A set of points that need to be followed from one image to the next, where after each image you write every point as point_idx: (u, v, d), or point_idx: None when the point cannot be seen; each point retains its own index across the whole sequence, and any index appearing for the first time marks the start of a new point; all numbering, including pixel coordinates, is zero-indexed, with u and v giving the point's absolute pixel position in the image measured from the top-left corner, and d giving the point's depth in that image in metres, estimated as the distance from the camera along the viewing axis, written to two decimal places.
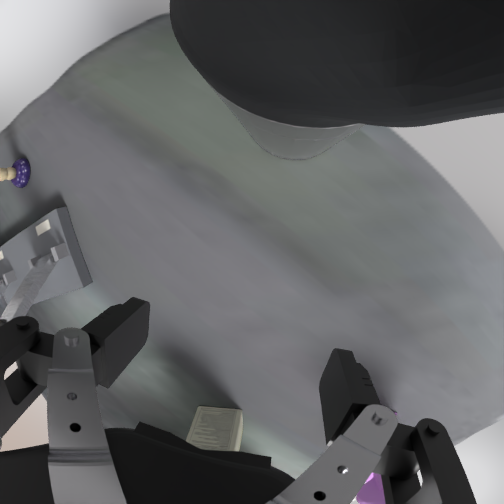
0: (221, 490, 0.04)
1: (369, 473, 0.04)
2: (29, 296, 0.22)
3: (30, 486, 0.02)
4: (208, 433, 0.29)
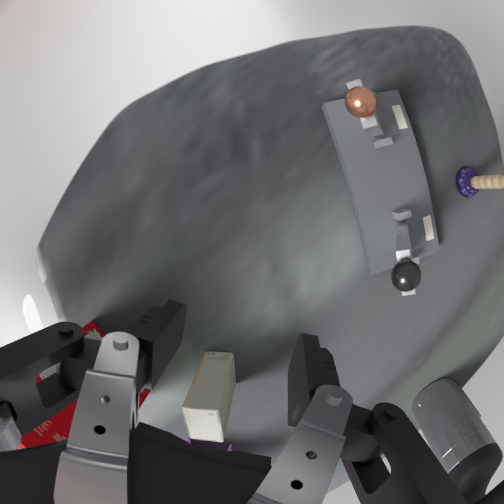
0: (221, 490, 0.04)
1: (338, 454, 0.05)
2: None
3: (31, 493, 0.02)
4: (229, 387, 0.34)
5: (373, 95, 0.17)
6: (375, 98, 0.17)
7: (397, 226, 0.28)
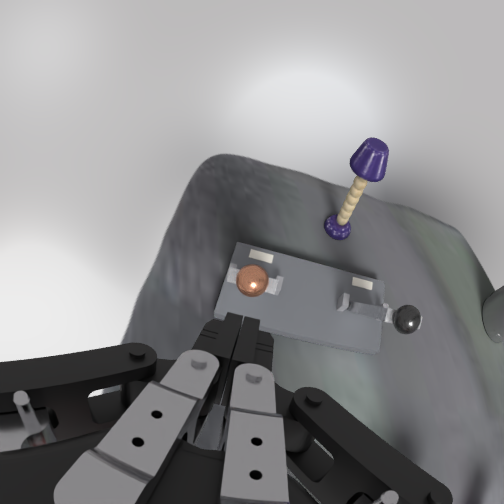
0: None
1: (282, 435, 0.05)
2: None
3: (28, 502, 0.02)
4: None
5: (254, 266, 0.22)
6: (258, 266, 0.22)
7: (353, 311, 0.31)
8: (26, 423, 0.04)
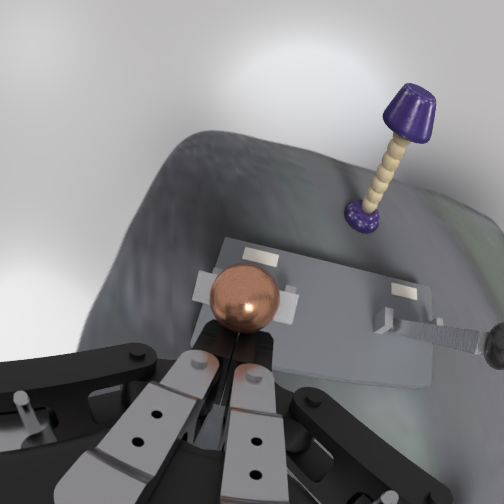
0: None
1: (282, 434, 0.05)
2: None
3: (28, 502, 0.02)
4: None
5: (248, 266, 0.10)
6: (256, 266, 0.10)
7: (401, 334, 0.19)
8: (26, 423, 0.04)
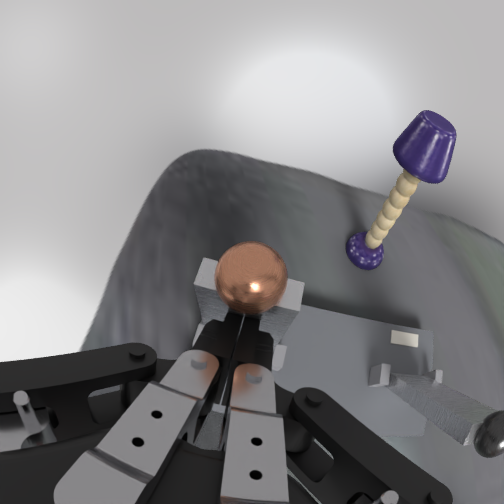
0: None
1: (282, 435, 0.05)
2: None
3: (29, 502, 0.02)
4: None
5: None
6: None
7: (396, 393, 0.17)
8: (26, 423, 0.04)
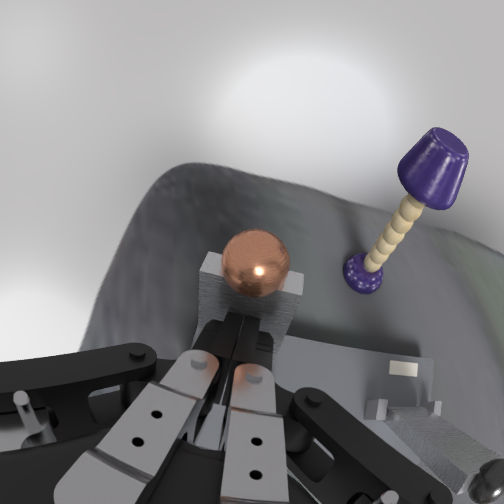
0: None
1: (282, 435, 0.05)
2: None
3: (28, 502, 0.02)
4: None
5: None
6: None
7: (392, 430, 0.15)
8: (26, 423, 0.04)
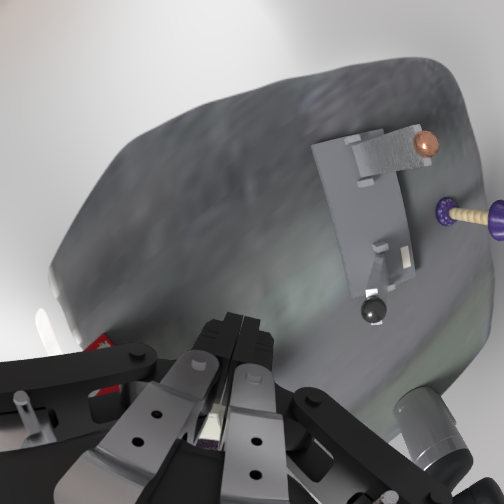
0: None
1: (282, 435, 0.05)
2: None
3: (28, 502, 0.02)
4: None
5: None
6: None
7: (374, 259, 0.33)
8: (26, 423, 0.04)
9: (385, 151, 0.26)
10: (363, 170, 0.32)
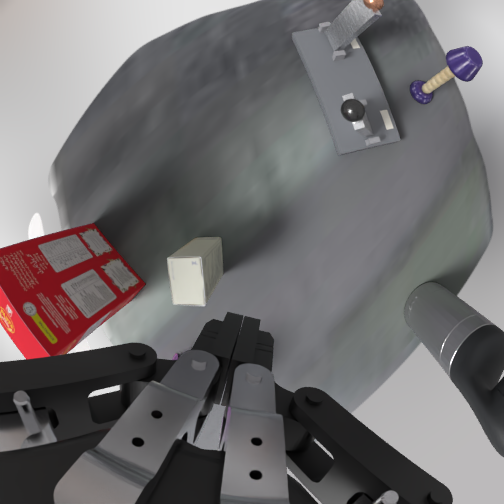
0: None
1: (282, 435, 0.05)
2: (364, 131, 0.29)
3: (29, 502, 0.02)
4: (215, 261, 0.39)
5: None
6: (382, 2, 0.21)
7: None
8: (26, 423, 0.04)
9: (347, 20, 0.26)
10: (335, 44, 0.32)
